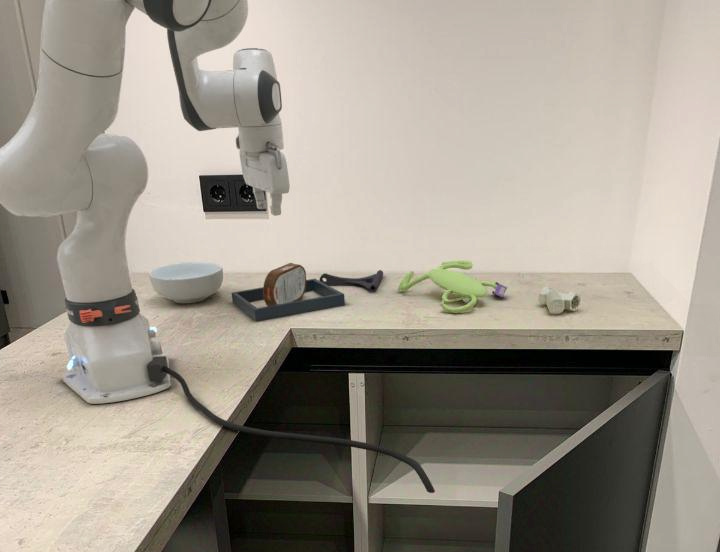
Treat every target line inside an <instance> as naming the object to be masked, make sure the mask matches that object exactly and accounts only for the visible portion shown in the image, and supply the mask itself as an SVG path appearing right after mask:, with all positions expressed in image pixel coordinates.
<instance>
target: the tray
mask: <svg viewBox="0 0 720 552" xmlns="http://www.w3.org/2000/svg"><path fill="white" fill-rule="evenodd" d="M312 291H313V292H316V293H318V294H320V295H322V296H319V297H313V298H307V299H302V300H301V299H300V300H298V301H295V302H289V303H284V304H278V305H272V306H267V305H266V306H263V307H257V306H255V305H254V304H252V303H251V302H253V301H259V300H264V297H263V287H261V286H260V287H256V288H251V289H250V288H249V289H244V290H237V291H233V292H231V293H230V294H231V300H232V304H233V305H234V306H236V307H237V308H238V309H240V310H241V311H242V312H244V313H245V314H246V315H247V316H248V317H250V318H251V319H252V320H254V321H255V322H260V321H266V320H270V319H275V318H277V319H278V318H281V317H287V316H294V315H297V314H303V313H304V314H305V313H308V312H315V311H320V310H325V309H331V308H337V307H341V306H346V302H345V301H346V300H345V293H343V292H341V291H339V290H338V289H336V288H334V287H332V286H331V285H326V284H324V283H323V282H321V281H319V279H317V278H310V279H309V278H308V279H306V289H305V292H304V293H306V292H312Z"/></svg>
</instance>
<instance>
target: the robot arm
mask: <svg viewBox="0 0 720 552" xmlns="http://www.w3.org/2000/svg"><path fill="white" fill-rule="evenodd" d="M135 9H137V10H138V11H140V12H141V13H143V14H144V15H146V16H147V17H148V18H149V19H150V20H151V21H152V22H153V23H155V24H157V25H159V26H160V27H163V28H164V29H166V33H167V34H166V36H167V43H168V49H169V54H170V59H171V63H172V67H173V72H174V77H175V81H176V85H177V88H178V97H179V98H178V99H179V105H180V110H181V113H182V116H183V119H184V120H185V122H187V124H188V125H190V126H191V127H192V128H193V129H195V130H196V131H198V132H205V131H211V130H217V129H231V128H237V129H238V134H237V135H236V137H235V146H236V149H237V150H239V160H240V167H241V171H242V177H243V180H244V183H245V184H246V185H247V186H250V187H251V188H252V192H253V195H254V198H255V203H256V208H257V209H259V210H266V209H267V208H268V207H267V206H268V205H267V200H266V197H265V193H264V192H266V193H269V197H270V201H271V202H270V203H271V204H270V206H269V208H270V215H272V216H274V217H275V216H281V214H282V201H283V195H284V194H288V193H289V192H290V187H291V186H290V177H289V170H288V163H287V158H286V156H285V154H284V152H282V151H281V150H284V149H285V145H284V144H285V143H284V134H283V123H282V118H281V115H280V112H281V111H282V109H283V104H282V103H283V102H282V92H281V91H282V90H281V84H280V82H279V80H278V78H277V77H278V76H277V71H276V67H275V63H274V58H273V54H272V53H271V52H270V51H268V50H267V49H263V48H257V47H250V48H248V47H247V48H241V49H240V50H239V49H238V50H237V51H235V52H234V53H233V58H232V59H233V60H232V69H231V70H213V71H212V70H204V69H200V67H199V62H198V61H199V60H198V57H200V56H202V55H204V54H206V53H210V52H213V51H216V50H219V49H223V48H225V47H227V46H228V45H230V44H231V43H233V42H234V41H235V40H236V39H237V38H238V37H239V35H240V34H241V33H242V31H243V29H244V28H245V26H246V22H247V19H248V16H249V3H248V0H45V1H44V7H43V13H42V21H41V30H40V44H39V45H40V46H39V62H38V63H39V66H38V75H37V84H36V85H37V86H36V94H35V97H34V100H33V103H32V106H31V108H30V110H29V112H28V114H27V116H26V118H25V120H24V121H23V123H22V125H21V127H19V129H18V131H17V132H16V133H15V134H14V135H13V136H12V137H11V138H10V140H9V141H8V142H6V143H5V144H4V145H3V146H1V147H0V205H1V206H2V207H3V208H4V209H5V210H6V211H8V212H9V213H10V214H12V215H13V216H16V217H28V218H49V217H55V216H60V215H65V214H70V213H76V222H75V225H74V227H73V230H72V232H71V233H70V234H69V235H68V236H67V237H66V238H65V239H64V240H63V241H62V242H61V243H60V244H59V246H58V249H57V253H56V262H57V266H58V270H59V273H60V277H61V281H62V286H63V289H64V293H65V298H64V305H65V306H64V307H65V311H66V313H67V317H68V320H69V322H70V323H69V326H68V327H67V329H66V330H65V331H64V332H63V338H64V341H65V346H66V350H67V355H68V360H69V362H68V363H67V365H66V368H67V370H68V371H67V372H66V373H63V374H62V381H63V383H65V384H66V385H67V386H68V387H69V388H70V389H71V390H72V391H73V392H74V393H76V394H77V395H78V396H79V397H81V398H82V399H83V400H84V401H85V402H86V403H88V404H89V405H91V404H93V405H94V404H95V405H96V404H97V405H99V404H109V403H117V402H122V401H128V400H133V399H137V398H141V397H146V396H150V395H153V394H157V393H160V392H161V391H165V390H167V389H169V388H170V387H171V386H172V382H171V381H172V380H171V377H173V378H174V379H175V380H176V381H178V382H179V384H180V385H181V388H182V391H183V393H184V395H185V396H186V398H187V400H188V401H189V402H190V403H191V404H192V406H194V407H195V408H196V409H197V410H198V411H200V412H201V413H202V414H204V415H205V416H206V417H207V418H208V419H210V420H211V421H212V422H214V423H215V424H218V425H220V426H222V427H224V428H227V429H229V430H233V431H237V432H240V433H245V434H249V435H253V436H259V437H263V438H264V437H266V438H270V439H271V438H272V439H281V440H291V441H299V442H300V441H301V442H307V443H308V442H309V443H317V444H328V445H336V446H344V447H351V448H356V449H361V450H367V451H371V452H375V453H380V454H384V455H387V456H390V457H391V458H394V459H396V460H398V461H400V462H402V463H403V464H406V465H408V466H409V467H411V468H412V469H413V470H414V471H415V473H416V474H417V475H418V477H419V479H420V481H421V482H422V484H423V486H424V488H425V490H426V492H428V493H429V494H434V493H435V492H436V491H435V490H436V489H435V487H434V485H433V484H432V482H431V480H430V478H429V476H428V475H427V473H426V471H425V470H424V468H423V467H422V465H421V464H420V463H419V462H418V461H416V460H415V459H413V458H412V457H409V456H407V455H406V454H403V453H401V452H399V451H397V450H395V449H391V448H389V447H386V446H382V445H378V444H373V443H368V442H363V441H357V440H352V439H346V438H339V437H331V436H319V435H311V434H303V433H302V434H301V433H294V432H293V433H292V432H290V433H289V432H282V431H274V430H266V429H260V428H255V427H249V426H245V425H240V424H237V423H233V422H230V421H228V420H225V419H223V418H221V417H219V416H217V415H216V414H214V413H213V412H212V411H211V410H210V409H208V408H207V407H206V406H205V405H203V404H202V403H200V401H198V400H197V398H195V397H194V396H193V394H192V393H191V391H190V389H189V385H188V383H187V382H186V380H185V378H183V376H182V375H181V374H179V373H178V372H177V371H175V370H173V369H172V368H170V360H169V357H168V355H166V354H163V349H162V344H161V341H153V339H155V338H156V336H157V335H156V333H157V330H158V329H157V327H155V326H151V325H150V321H149V318H148V317H146V316H144V315H143V314H141V313H140V311H141V310H140V306H139V299H138V296H137V292H136V290H135V289H134V288H133V287H132V286H133V285H132V281H131V276H130V275H131V274H130V270H129V265H128V264H129V263H128V257H127V249H126V248H127V247H126V245H127V244H126V239H127V230H128V225H129V220H130V216H131V213H132V211H133V208H134V206H135V204H136V203H137V201H138V199H139V198H140V196H141V195H142V194H143V193H144V192H145V190H146V188H147V185H148V181H149V166H148V162H147V158H146V156H145V154H144V152H143V151H142V149H141V148H140V146H139V145H138V144H137V143H136V142H135V141H134V140H133V139H132V138H131V137H128V136H125V135H118V134H111V133H105V132H106V131H107V130H108V129H109V128H110V127H112V125H113V124H114V122H115V120H116V118H117V116H118V113H119V106H120V98H121V90H122V81H123V73H124V67H125V56H126V38H127V37H126V36H127V35H126V31H127V30H126V29H127V28H126V27H127V24H128V22H129V19H130V17H131V15H132V13H133V12H134V10H135Z"/></svg>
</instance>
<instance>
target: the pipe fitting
mask: <svg viewBox="0 0 720 552" xmlns="http://www.w3.org/2000/svg"><path fill="white" fill-rule="evenodd" d="M581 300H582V299H581V295H580V294H579V293H577V292H571V291H570V292H567V291H564V290H559V289H553V288H552V287H548V286H544V287H542V289H541V290H540V292H539V295H538V303H539V304H541V305H544V306H547V309H548V311H549V313H550V314H552V315H560V314H561V313H562V312H564V310H567V311H569V312H576V311H577V310H578V309H579V307H580V306H581Z"/></svg>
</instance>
